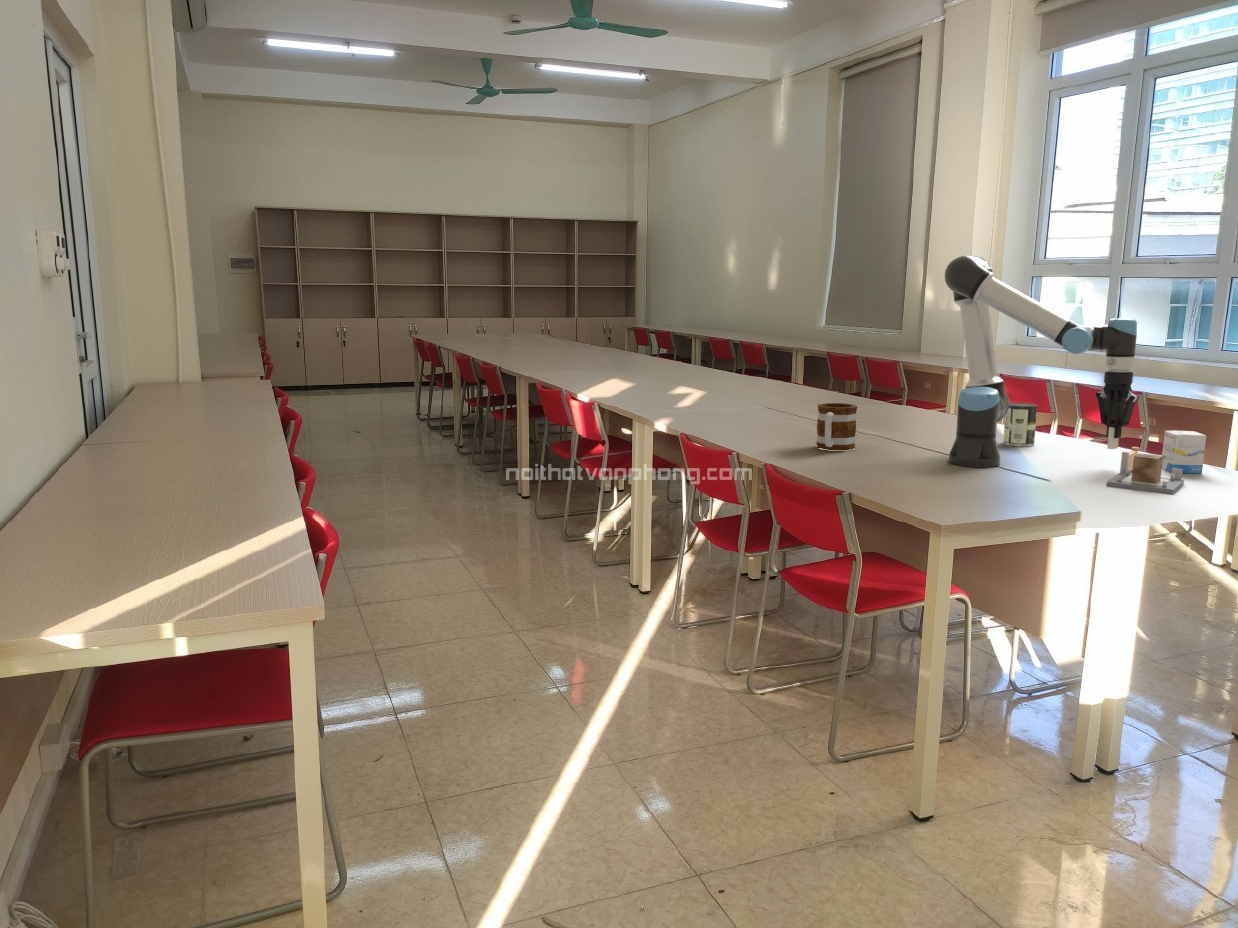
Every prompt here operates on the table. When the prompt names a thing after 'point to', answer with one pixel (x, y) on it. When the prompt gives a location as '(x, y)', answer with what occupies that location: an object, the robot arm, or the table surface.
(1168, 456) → the ink box
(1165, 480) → the housing
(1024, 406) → the coffee can
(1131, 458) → the lid gate
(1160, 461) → the walnut block
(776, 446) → the table surface
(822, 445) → the mug
